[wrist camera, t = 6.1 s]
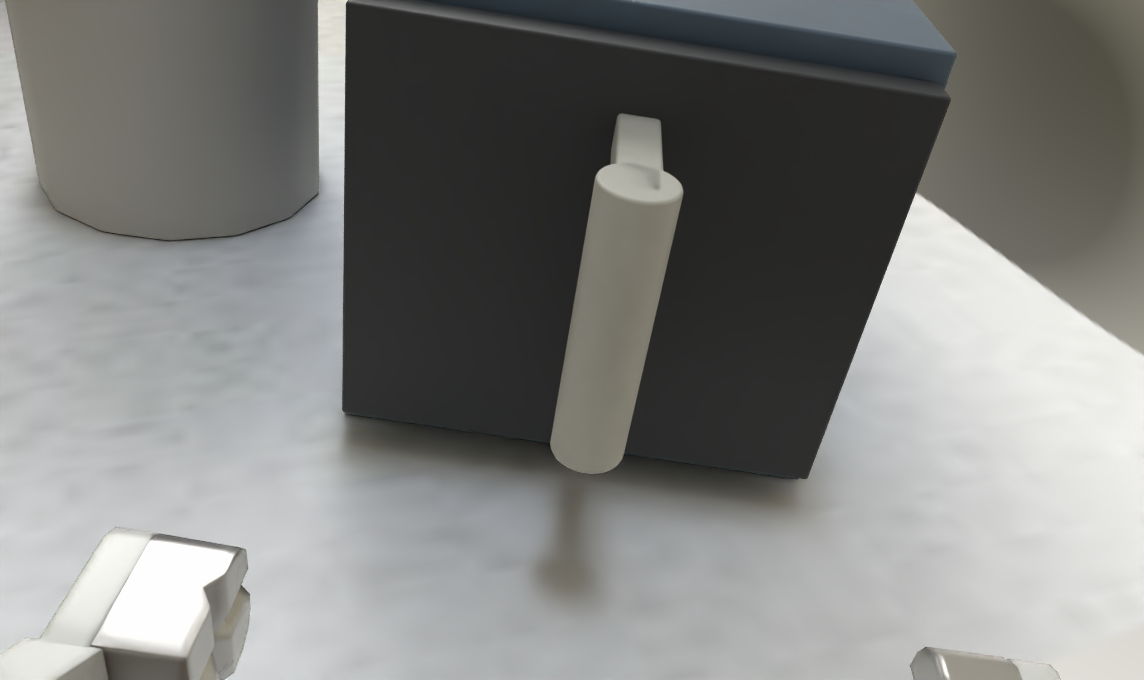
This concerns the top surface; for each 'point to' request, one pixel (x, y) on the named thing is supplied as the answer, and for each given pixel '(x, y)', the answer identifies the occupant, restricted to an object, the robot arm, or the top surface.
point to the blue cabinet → (763, 37)
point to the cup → (171, 111)
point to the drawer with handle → (613, 233)
